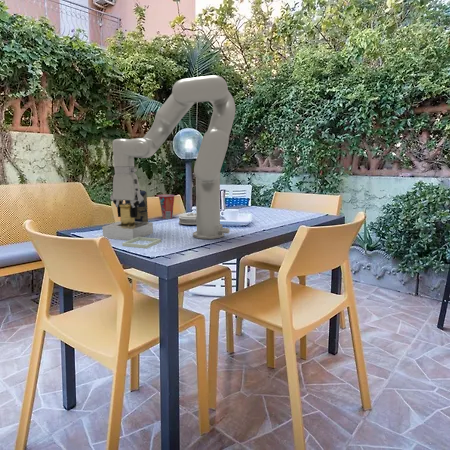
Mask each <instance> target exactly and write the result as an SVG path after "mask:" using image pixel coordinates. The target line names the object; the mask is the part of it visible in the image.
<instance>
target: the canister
mask: <svg viewBox="0 0 450 450" xmlns="http://www.w3.org/2000/svg"><path fill="white" fill-rule="evenodd" d="M140 194H141V196H142V197H143V198H144V199H143V200H142V202H141V203H140V204H139V205H138V207H137V213H138V214H137V217H135V221H138V222H149V216H148V213H149V212H148V197H147V191H146V190H142V189H140ZM136 200H138V199H136ZM124 201H125V203H130V200H124Z"/></svg>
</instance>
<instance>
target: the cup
mask: <svg viewBox="0 0 450 450" xmlns="http://www.w3.org/2000/svg"><path fill="white" fill-rule="evenodd" d="M157 197H158V198H159V205H160V211H161V217H162V219H163V220H165V219H167V220H169V219H173V216H174V203H175V197H176V195H175V194H158V195H157Z"/></svg>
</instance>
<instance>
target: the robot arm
mask: <svg viewBox="0 0 450 450" xmlns="http://www.w3.org/2000/svg"><path fill="white" fill-rule="evenodd" d="M204 102H209V103H210V104H211V105H212V108H213V110H212V115H211V117H210V121H209V125H208V127H207V128H208V129H207V130H206V131H205V133H204V134H203V137H202V139H201V142H200V146H199V150H198V153H197V157H196V159H195V160H196V161H195V163H194V167H193V173H194V176H195V207H196V208H195V210H196V211H195V213H196V220H197V224H196V231H194V232H192V237H193V238H195V239H202V240H215V239H220V238H223V237H224V236H225V234H230V231H231V230H230V228H229V227H223V224H221V169H222V166H223V163H224V160H225V157H226V153H227V150H228V147H229V142H230V141H229V139H230V135H231V131H232V128H233V123H234V119H235V115H236V104H235V100H234V97H233V95H232V94H231V92H230V91H229V88H228V82H226V79H224V78H223V77H222V76H220V75H214V74H213V75H205V76H196V77H187V78H181V79H179V80H177V81H175V83H174V84H173V85H172V90H171V94H170V95H169V97H168V98H167V99H166V100H165V102H164V103H163V104H162V105H161V106H160V108H158V110H157V111H156V114H155V117H154V120H153V123H152V125H151V127H150V128H149V129H148V131H147V132H146V133H145V134H144V136H143V137H135V138H130V139H129V138H116V139H114V140H112V154H113V165H114V174H113V178H112V194H111V195H110V197H109V199H110V200H111V202H113V204H114V205H115V207H116V210H117V217H118V218H121V215H120V206H119V204H124V201H125V200H130V203H131V205H132V208H131V217H132V218H134V217H137V214H138V213H137V207H138V205H139V204H140V203H141V202H142V200H143V199H144V198H143V197H142V196H141V194H140V190H141V188H140V183H139V178H138V175H137V174H136V172H137V171H138V169H137V168H135V158H138V159H139V158H140V159H148V158H151V157H152V156H154V155H155V153H156V152H157V151H158V150H159V149H160V148H161V146H162V145H163V144H164V143H165V142H166V140H167V139H168V137H169V136H170V135H171V134H172V132H173V131H174V130H175V128H176V126H177V125H178V124H179V123H180V121H181V120H182V119H183V118H184V117H185V116H186V114H187V113H188V112H189V110H190V109H191V108H192V107H193V106H194V105H195V104H196V103H204ZM136 199H138V200H136Z"/></svg>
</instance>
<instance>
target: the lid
mask: <svg viewBox="0 0 450 450" xmlns="http://www.w3.org/2000/svg"><path fill="white" fill-rule="evenodd" d="M178 219H179V221H178V223H179V224H181V225H197V220H196V212H194V213H193V212H189V213H188V212H187V213H183V214H180V215H179V216H178Z"/></svg>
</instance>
